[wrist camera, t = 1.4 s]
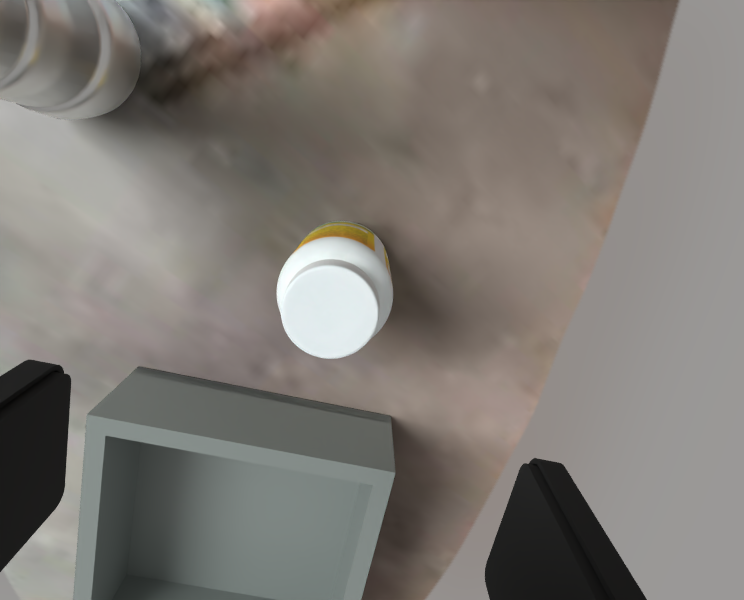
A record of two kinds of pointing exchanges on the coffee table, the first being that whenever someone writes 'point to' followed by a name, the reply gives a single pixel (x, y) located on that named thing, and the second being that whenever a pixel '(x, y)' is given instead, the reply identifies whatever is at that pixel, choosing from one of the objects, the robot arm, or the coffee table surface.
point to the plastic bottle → (67, 56)
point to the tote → (228, 494)
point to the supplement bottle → (335, 290)
